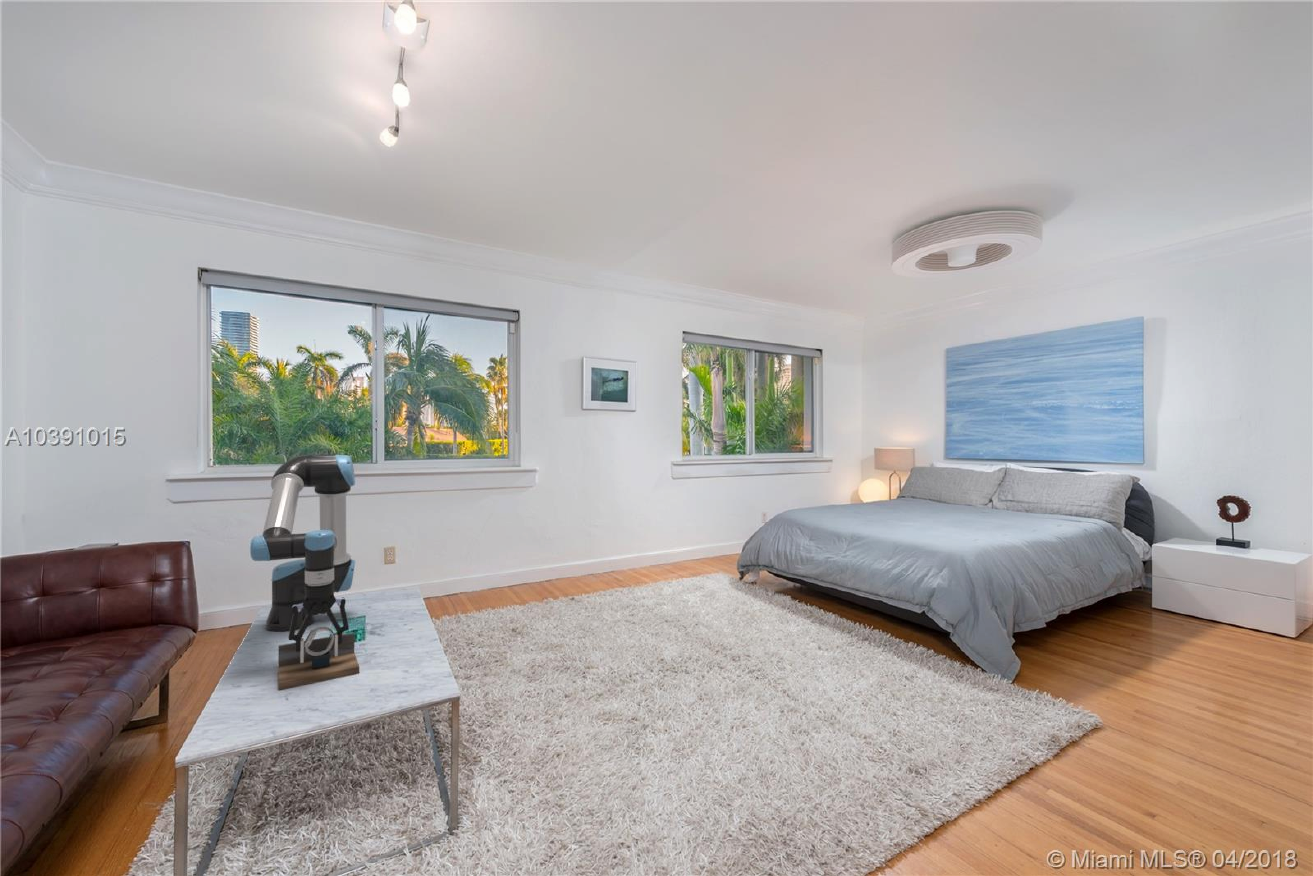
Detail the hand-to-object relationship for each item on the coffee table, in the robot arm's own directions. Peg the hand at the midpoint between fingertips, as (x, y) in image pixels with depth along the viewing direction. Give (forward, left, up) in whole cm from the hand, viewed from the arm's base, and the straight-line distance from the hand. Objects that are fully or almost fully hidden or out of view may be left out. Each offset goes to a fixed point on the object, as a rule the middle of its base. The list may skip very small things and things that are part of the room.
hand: (319, 658), depth 165 cm
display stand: (0, 0, -4) cm, 4 cm away
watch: (0, 0, -2) cm, 2 cm away
